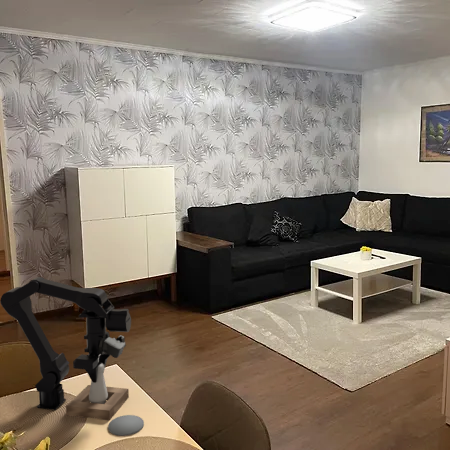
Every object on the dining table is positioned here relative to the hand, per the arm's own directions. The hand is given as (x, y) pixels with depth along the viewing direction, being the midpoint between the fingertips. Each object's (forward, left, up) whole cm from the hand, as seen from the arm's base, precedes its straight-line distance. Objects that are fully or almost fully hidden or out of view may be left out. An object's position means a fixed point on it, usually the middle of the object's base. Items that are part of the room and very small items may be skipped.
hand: (97, 379), depth 145 cm
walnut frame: (0, 0, -9) cm, 9 cm away
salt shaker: (0, 0, -8) cm, 8 cm away
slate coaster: (+13, -9, -9) cm, 18 cm away
